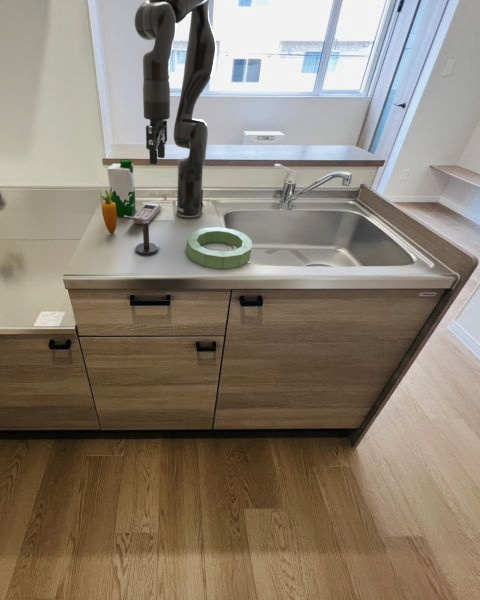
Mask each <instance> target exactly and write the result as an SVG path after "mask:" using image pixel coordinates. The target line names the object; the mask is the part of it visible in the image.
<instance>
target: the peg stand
mask: <svg viewBox="0 0 480 600" xmlns="http://www.w3.org/2000/svg"><path fill="white" fill-rule="evenodd" d="M149 225H150V222H149V223H148V221H144V222H143V224H142V241H143V242H140V243H139V244H137V245H136V246H135V252H136V254H138V255H139V256H144V257H145V256H147V257H148V256H153V255H155V254H157V253H158V251H159V250H158V249H159V248H158V245H157V244H155V243H152V242H150V228H149V227H150V226H149Z"/></svg>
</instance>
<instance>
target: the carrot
mask: <svg viewBox="0 0 480 600" xmlns="http://www.w3.org/2000/svg"><path fill="white" fill-rule="evenodd" d="M104 193H105V196H103V195H100V196H99V197H100V198H101V199H103V200H104V202H102V203H101V211H102V217H103V222H104V225H105V228H106V230H107V231H108V233H109V234H110V235H111V236H113V235H114V234H115V232H116V228H117V222H118V221H117V220H118V217H117V213H116V204H115V203H114V202H111V195H112V194H111V193H110V192H109V191H108V190H107V189H106V190H104Z"/></svg>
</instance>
